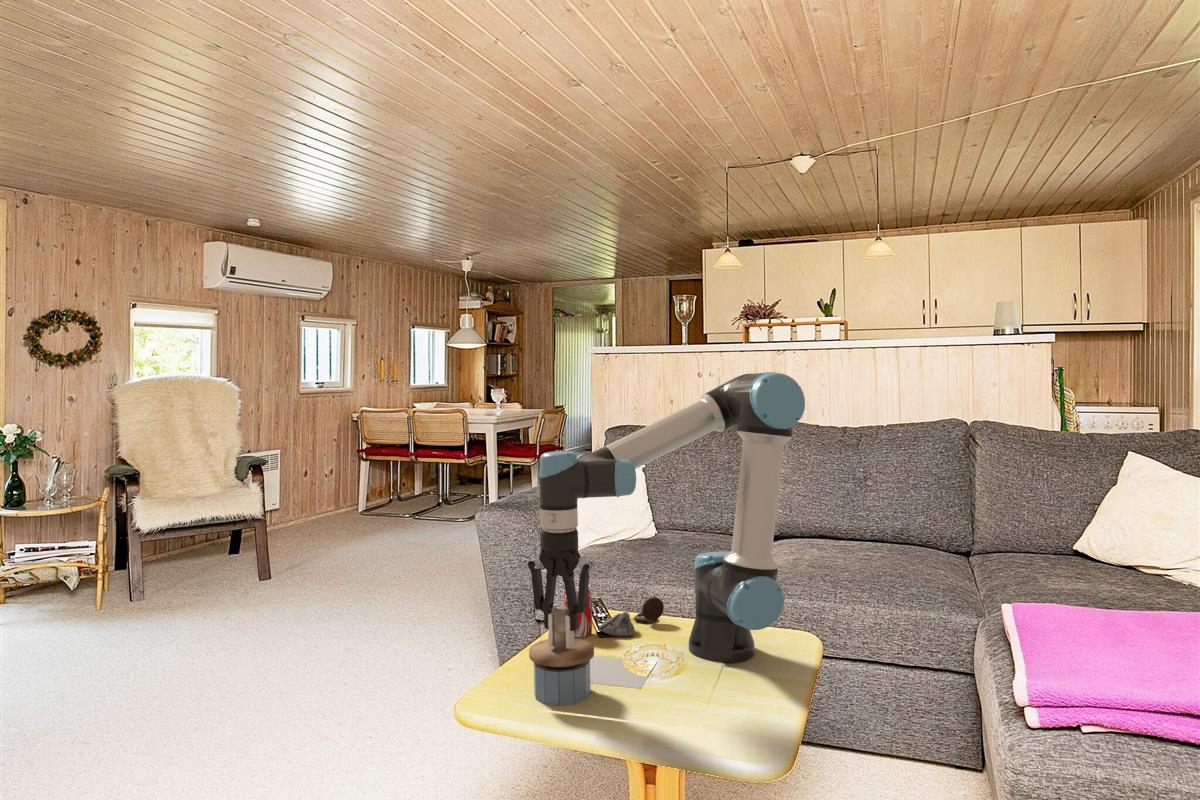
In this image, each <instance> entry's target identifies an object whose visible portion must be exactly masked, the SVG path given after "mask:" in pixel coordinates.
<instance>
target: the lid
mask: <svg viewBox="0 0 1200 800" xmlns="http://www.w3.org/2000/svg"><path fill="white" fill-rule="evenodd" d="M552 611H553V614H554V646H553V647H549V638H548V639H544V640H541V641H538V642H536V643H534V644H532V645H531V646H530V647H529V650H528V651H529V652H528V654H529V659H530V660H531V661H532V662H533V664H534V663H537V664H539V665H543V666H550V667H567V666H574V665H579V664H582V663H585V662H587V661H589V660H590V659H592V658H593V656H595V646H594V645H593V643H591V642H589V641H587V640H584V639H581V638H574V645H573V646H572V647H571V648H570V649H566V624H565V616H566V615H567V614H568V608H566V607H564V606H556V607H554V608H553V609H552Z"/></svg>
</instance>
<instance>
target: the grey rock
mask: <svg viewBox="0 0 1200 800" xmlns="http://www.w3.org/2000/svg"><path fill="white" fill-rule="evenodd" d="M630 618H631V616H630V613H629V612H628V611H624V612H621V613H618V614H616V615H614V616H610V617H608V618H607V619H606V620H605V621H604V622H603V623H602V624H601V626H600V625H599V626H600V627H599V626H598V627H599V630H601V631H603V632H606V633H608V634H609V635H611V636H610V637H618V638H619V637H620V638H625V637H629V636H632V635H634V634H635V626H634V624H633V623H632V621H631V620H632V619H630ZM609 635H608V636H609Z"/></svg>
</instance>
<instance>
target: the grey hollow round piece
mask: <svg viewBox="0 0 1200 800" xmlns="http://www.w3.org/2000/svg"><path fill="white" fill-rule="evenodd" d="M533 690H534V691H533V693H534V698H535V700H536V701H538V702H540V703H542V704H544V705H549V706H558V707H562V706H563V707H564V706H569V705H570V706H571V705H576V704H579V703H581V702H583V701H586V700H588V698H589V697H590V695H591V694H592V693H591V683H590V660H589V661H587V662H585V663H582V664H579V665H574V666H567V667H550V666H543V665H539V664H537V663H534V662H533Z"/></svg>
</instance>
